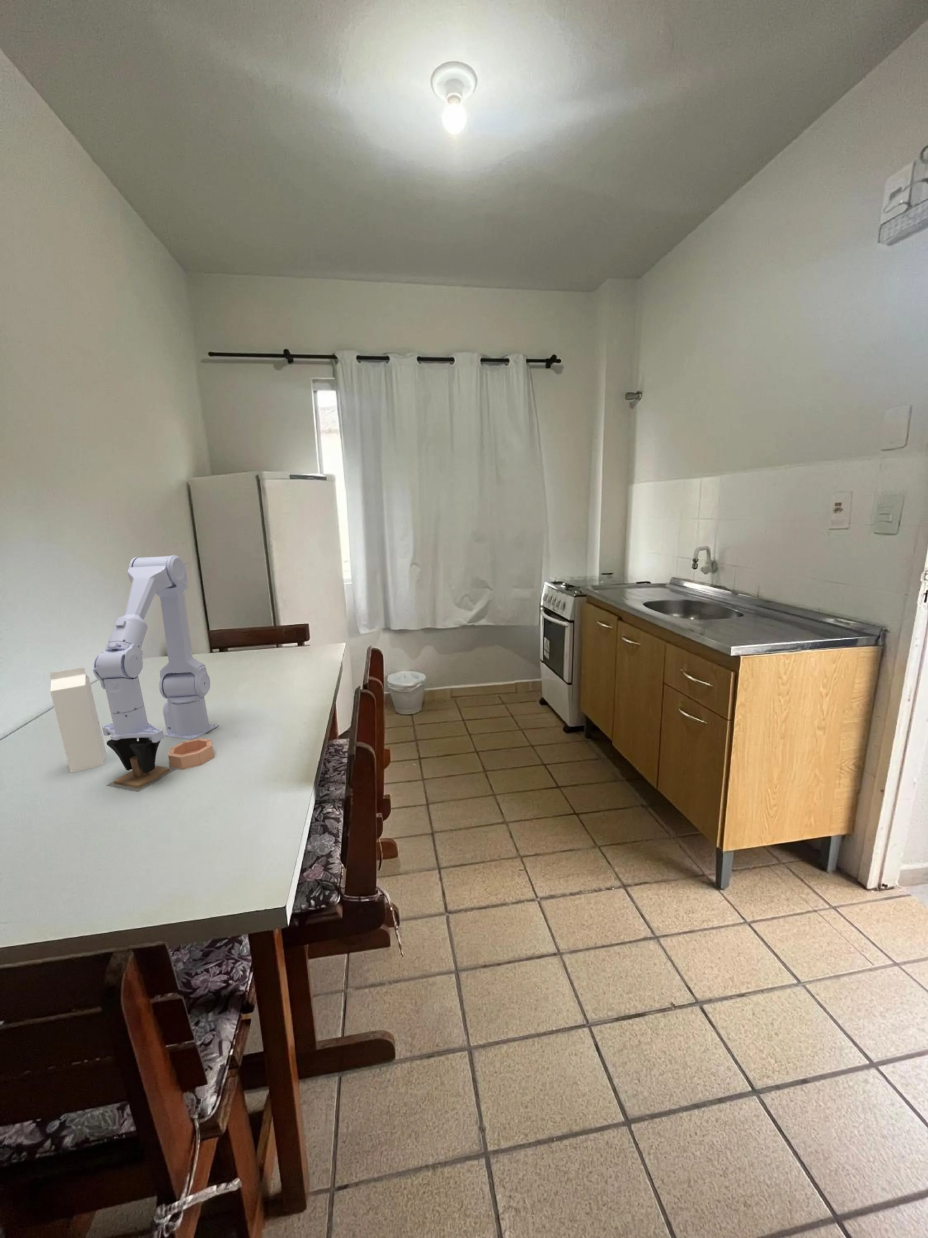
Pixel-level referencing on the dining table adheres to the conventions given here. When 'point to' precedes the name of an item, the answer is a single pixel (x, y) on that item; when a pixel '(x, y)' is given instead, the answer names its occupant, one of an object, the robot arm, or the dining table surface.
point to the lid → (139, 775)
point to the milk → (77, 719)
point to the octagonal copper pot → (191, 753)
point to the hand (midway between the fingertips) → (140, 769)
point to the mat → (142, 786)
